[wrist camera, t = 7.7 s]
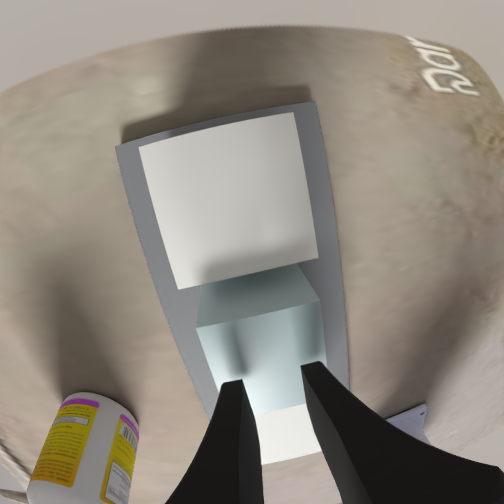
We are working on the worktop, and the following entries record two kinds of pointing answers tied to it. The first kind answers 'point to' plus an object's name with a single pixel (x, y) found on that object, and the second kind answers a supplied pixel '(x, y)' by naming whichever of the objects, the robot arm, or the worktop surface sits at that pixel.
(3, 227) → the worktop surface
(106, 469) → the supplement bottle
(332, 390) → the robot arm
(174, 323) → the board
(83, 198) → the worktop surface
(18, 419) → the worktop surface
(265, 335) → the block
